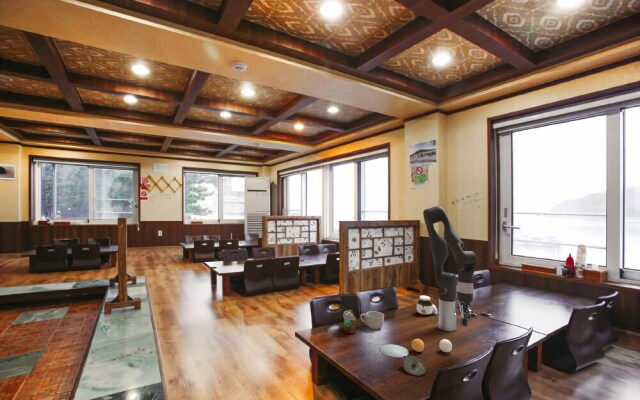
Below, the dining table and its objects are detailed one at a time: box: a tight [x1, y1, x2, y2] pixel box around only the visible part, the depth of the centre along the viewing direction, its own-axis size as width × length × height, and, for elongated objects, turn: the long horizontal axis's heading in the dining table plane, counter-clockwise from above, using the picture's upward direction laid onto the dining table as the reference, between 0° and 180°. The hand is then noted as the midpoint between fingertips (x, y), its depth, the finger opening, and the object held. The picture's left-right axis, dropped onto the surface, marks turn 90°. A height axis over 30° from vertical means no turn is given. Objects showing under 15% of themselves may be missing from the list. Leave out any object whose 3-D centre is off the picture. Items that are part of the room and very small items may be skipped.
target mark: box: [379, 343, 409, 358], centre depth 157 cm, size 14×14×1 cm
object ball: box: [411, 338, 425, 353], centre depth 157 cm, size 6×6×6 cm
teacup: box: [359, 310, 385, 330], centre depth 188 cm, size 14×11×8 cm
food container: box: [342, 309, 357, 335], centre depth 181 cm, size 12×6×10 cm, turn 5°
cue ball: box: [438, 338, 453, 353], centre depth 157 cm, size 6×6×6 cm
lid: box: [401, 355, 427, 377], centre depth 138 cm, size 11×10×5 cm
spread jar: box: [416, 295, 439, 317], centre depth 215 cm, size 12×11×12 cm
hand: (464, 325), depth 158 cm, fingers closed
